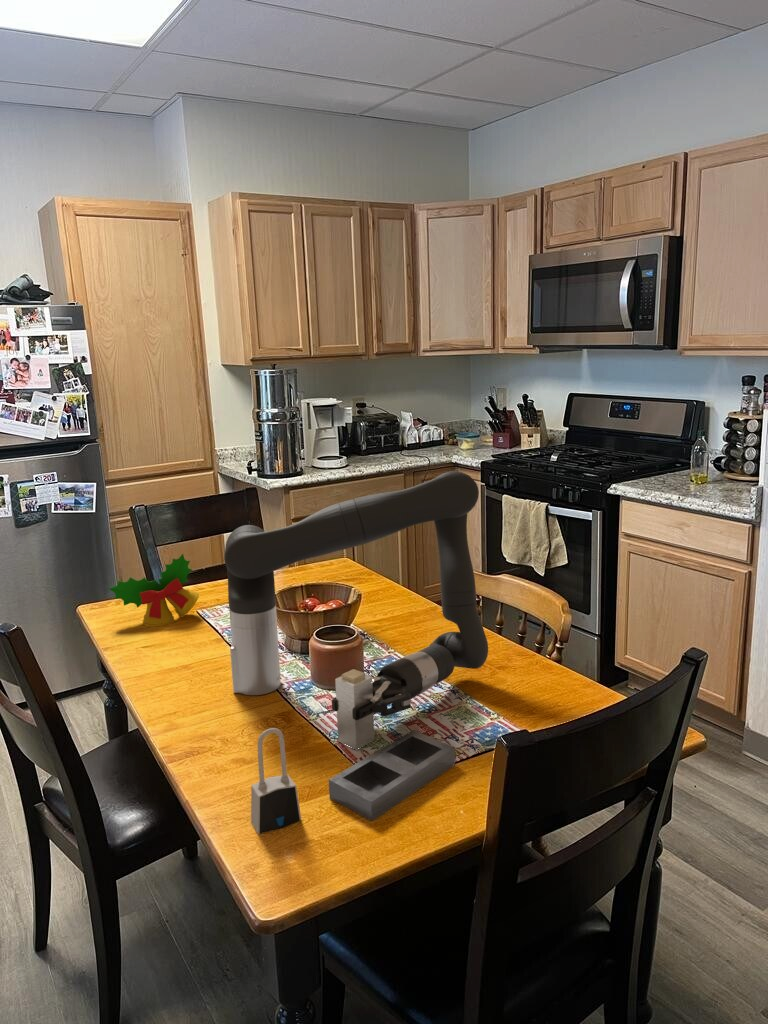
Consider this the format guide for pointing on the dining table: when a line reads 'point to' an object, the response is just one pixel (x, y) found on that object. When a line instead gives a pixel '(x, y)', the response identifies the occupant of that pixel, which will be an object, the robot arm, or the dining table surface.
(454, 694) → the dining table surface
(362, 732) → the grey rectangular block
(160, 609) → the ornament
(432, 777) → the cinder block
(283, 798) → the padlock
